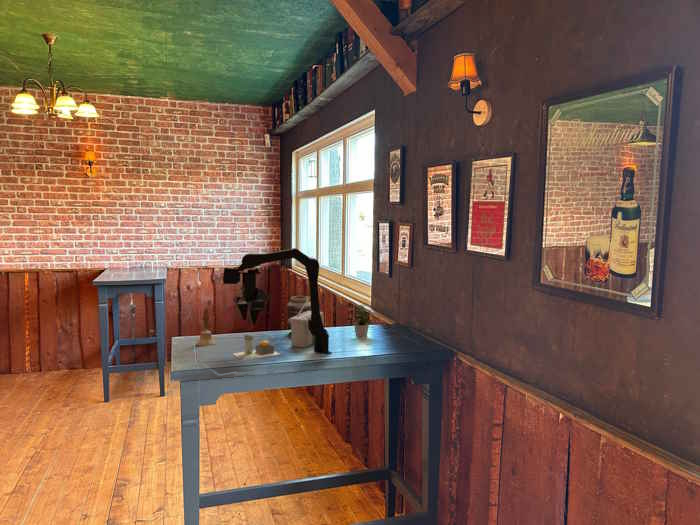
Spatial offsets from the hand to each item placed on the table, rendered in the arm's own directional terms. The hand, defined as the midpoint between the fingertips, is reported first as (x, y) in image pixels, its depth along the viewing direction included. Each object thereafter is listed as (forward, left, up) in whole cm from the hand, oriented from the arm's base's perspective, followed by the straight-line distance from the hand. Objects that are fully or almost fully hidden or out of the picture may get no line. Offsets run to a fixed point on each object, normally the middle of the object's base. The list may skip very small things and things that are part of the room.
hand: (249, 322), depth 212 cm
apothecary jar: (+22, -36, -13) cm, 44 cm away
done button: (-3, -6, -10) cm, 12 cm away
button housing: (-3, -6, -12) cm, 14 cm away
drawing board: (-4, -2, -13) cm, 14 cm away
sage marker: (-1, 0, -12) cm, 12 cm away
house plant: (+2, -57, -13) cm, 59 cm away
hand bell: (+26, +9, -14) cm, 31 cm away
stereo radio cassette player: (+3, -29, -14) cm, 32 cm away
